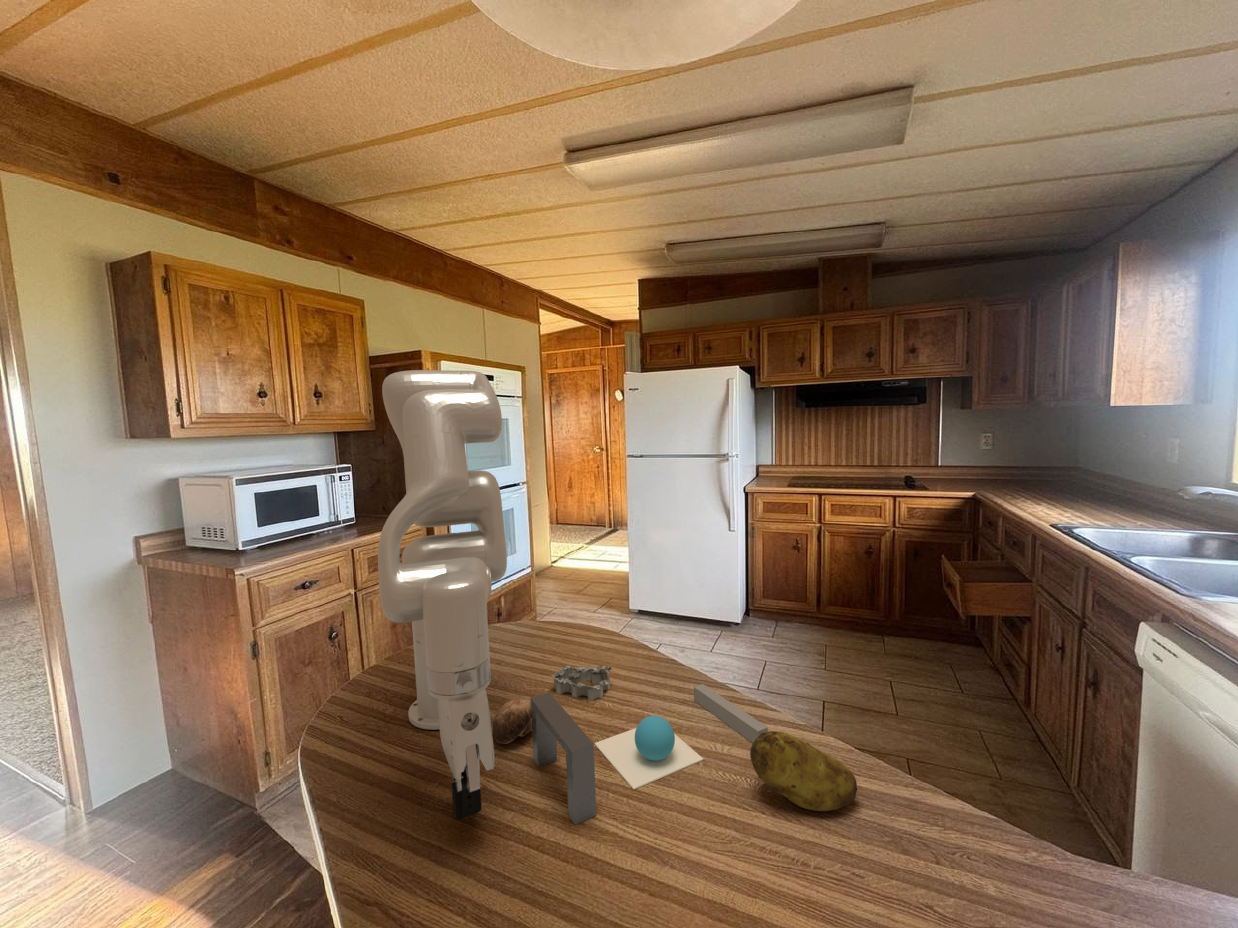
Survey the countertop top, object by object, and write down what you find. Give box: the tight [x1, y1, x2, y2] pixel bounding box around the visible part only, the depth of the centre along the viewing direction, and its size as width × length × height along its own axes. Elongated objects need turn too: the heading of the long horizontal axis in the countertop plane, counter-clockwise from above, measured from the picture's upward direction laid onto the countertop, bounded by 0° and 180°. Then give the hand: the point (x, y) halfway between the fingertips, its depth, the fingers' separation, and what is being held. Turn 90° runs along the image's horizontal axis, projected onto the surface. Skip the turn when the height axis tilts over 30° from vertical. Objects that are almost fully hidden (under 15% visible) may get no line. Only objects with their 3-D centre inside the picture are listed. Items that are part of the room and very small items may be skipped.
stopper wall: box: [693, 683, 769, 744], centre depth 88 cm, size 16×2×2 cm, turn 29°
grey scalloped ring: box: [550, 664, 613, 701], centre depth 100 cm, size 10×7×4 cm
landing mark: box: [594, 727, 704, 790], centre depth 80 cm, size 12×12×1 cm
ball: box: [635, 715, 676, 761], centre depth 78 cm, size 6×6×6 cm
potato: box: [749, 730, 858, 812], centre depth 69 cm, size 8×13×8 cm, turn 58°
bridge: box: [530, 692, 597, 826], centre depth 73 cm, size 3×15×10 cm, turn 29°
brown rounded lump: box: [492, 697, 532, 745], centre depth 85 cm, size 8×8×6 cm
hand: (467, 811), depth 67 cm, fingers closed
